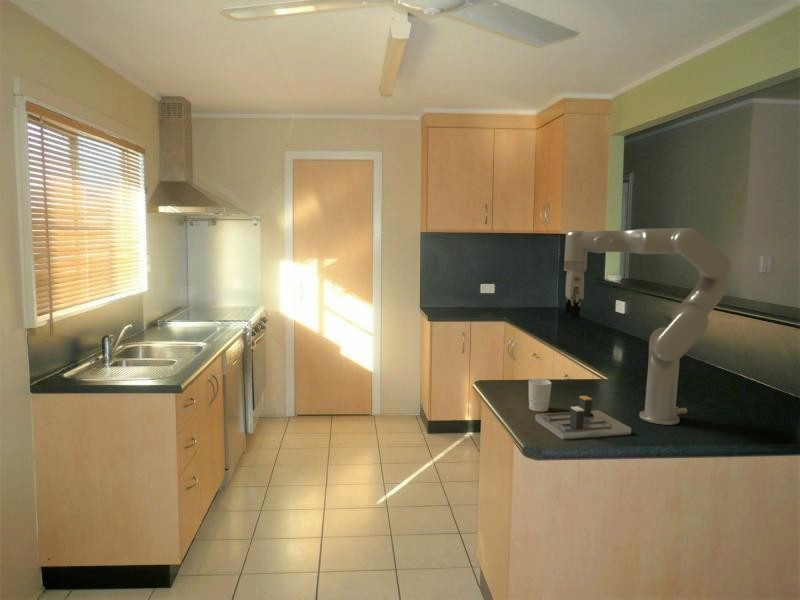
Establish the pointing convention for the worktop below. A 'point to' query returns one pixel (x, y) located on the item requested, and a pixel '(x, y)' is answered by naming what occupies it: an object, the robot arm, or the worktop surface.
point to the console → (592, 425)
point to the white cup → (539, 394)
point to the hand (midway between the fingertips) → (572, 315)
